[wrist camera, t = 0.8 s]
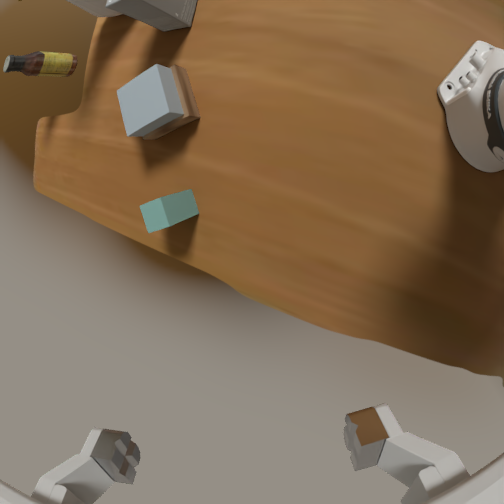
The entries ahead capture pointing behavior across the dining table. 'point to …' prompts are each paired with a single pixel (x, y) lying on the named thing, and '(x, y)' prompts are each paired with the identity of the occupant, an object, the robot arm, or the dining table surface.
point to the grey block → (149, 101)
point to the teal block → (169, 210)
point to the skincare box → (157, 12)
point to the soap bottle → (95, 7)
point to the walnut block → (186, 102)
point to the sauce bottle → (42, 64)
